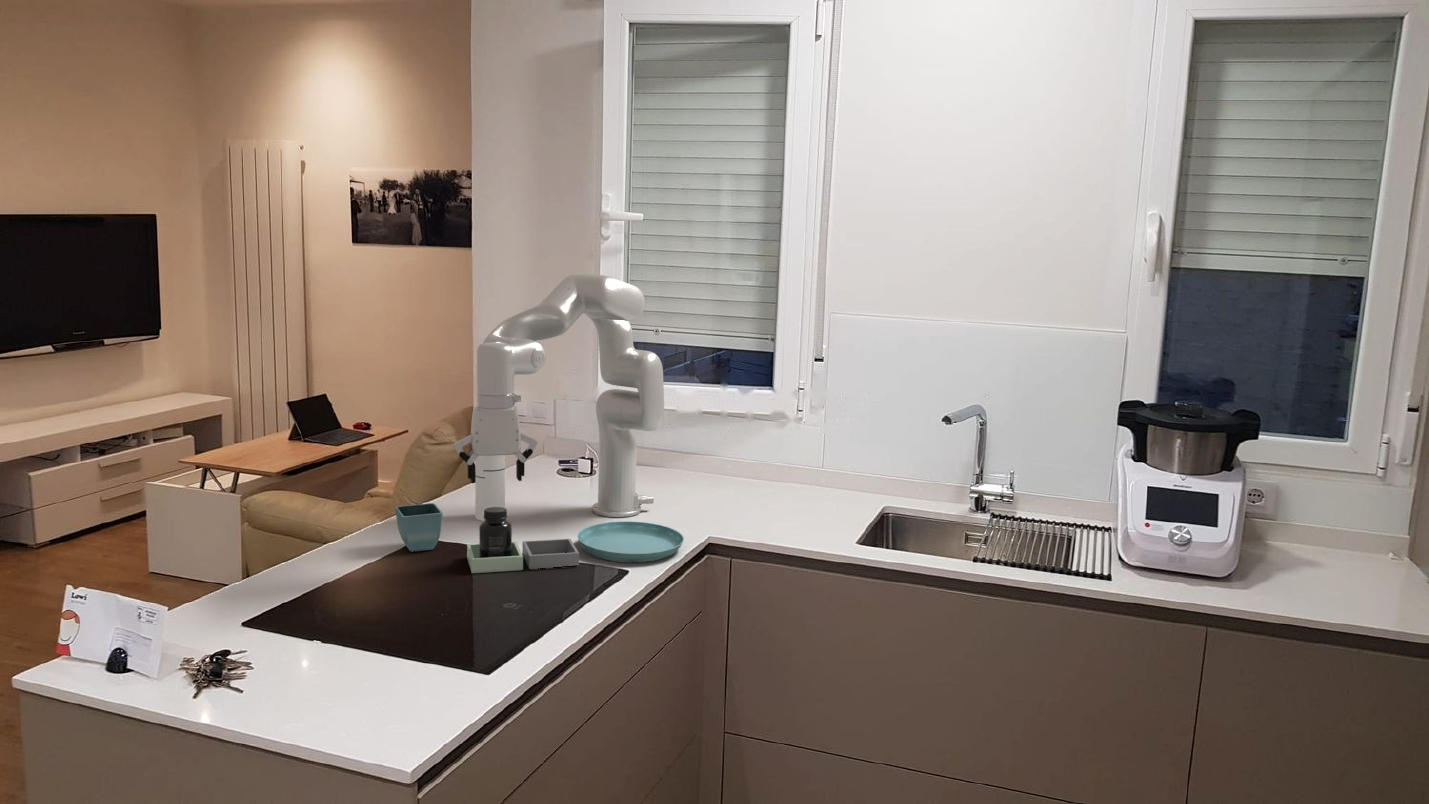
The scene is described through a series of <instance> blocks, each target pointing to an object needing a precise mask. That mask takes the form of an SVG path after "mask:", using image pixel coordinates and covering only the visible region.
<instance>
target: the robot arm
mask: <svg viewBox="0 0 1429 804" xmlns="http://www.w3.org/2000/svg"><path fill="white" fill-rule="evenodd" d="M645 306H646V301H645V295H644V294H643V292H642V290H641V289H640V288H639V287H637V286H636V285H633V284H631V283H628V282H625V281H623V280H620V279H618V278H615V277H612V276H610V275H609V276H608V275H602V274H589V273H587V274H586V273H572V274H569V275H568V276H566V277H564V278H563V280H561V281H560V283H558V285H557V286H555V288H554V289H553V290H552V291H551V292H550V293H549V294H548V295H547V296H546V297H545V298H544V299H543V300H542V301H541V302H540V303H539V304H538V305H535V306H533V307H531V308H528V309H526V310H523V311H522V312H520V313H517V314H514V315H512V316H510V317H508V318H506V319H505V320H502V322H500V323H499V324H497V326H496V327H495V328H494V329H493V330H492V331H491V332H489V334H488V335H487V336H486V338H484V339H483V342H482V343H480V344H479V345H478V346H477V349H476V385H477V387H476V388H477V393H476V395H477V396H476V398H477V399H476V401H477V402H476V403H477V404H476V405H477V406H474V407H473V409H472V415H471V424H470V425H471V427H470V434H469V435H468V436H465V437H463V438H461V439H459V440H458V441H455V442H454V443H453V446H454V447H453V448H454V449H455V451H456V452H457V455H458V456H459V457H460V459H461V460H463V461H464V462H465V463H466V464H467V479H470V482H471V484H475V483H476V473H475V460H476V459H477V458H478V457H479V456H493V455H505V456H509V455H510V456H511V455H514V456H515V457H516V458H517V460H516V463H515V464H516V465H515V466H516V467H515V468H516V479H517V481H519V482H522V479H523V478H522V477H524V476H525V463H526V462H527V459H529V458H530V457H531V456H532V455H533V453H534V451H535V449H536V447H537V445H538V441H537V439H535V438H533V437H530V436H528V435H526V434H524V433H522V432H521V425H520V423H521V422H520V418H519V410H518V407H517V406H516V405H515V404H516V403H521V402H522V396H521V395H520V394H519V395H518V394H515V382H514V379H515V378H514V376H515V375H517V376H518V375H533V374H536V373H537V372H539V371H540V370H541V369H542V368H543V367H544V365H545V364H546V363H545V362H546V360H547V359H546V357H547V356H546V355H547V354H546V351H545V348H544V346H543V345H542V344H541V343H540V342H537V341H544V340H548V339H552V338H556V337H559V336H561V335H564V334H565V333H566V332H567V331H568V330H569V329H570V328H571V327H572V326H573V325H574V323H576V321H578V319H579V318H580V317H581V316H583V314H584V315H585V316H587V317H588V319H590V320H591V322H592V323H593V324H594V326H595V329H596V331H597V336H598V351H599V370H600V375H601V379H602V381H603V382H604V383H605V384H608V385H611V386H616V387H617V386H618V387H625V388H632V389H636V390H637V391H634V390H627V389H621V388H617V389H616V388H612V389H607V390H605V391H603V392H601V394H600V395H599V396H598V397H597V401H596V404H595V405H596V406H595V412H596V413H595V414H596V419H597V425H598V437H599V440H598V443H599V445H598V450H599V451H598V488H597V489H598V492H597V493H598V494H597V497H598V498H597V502H595V503H593V504H592V505H591V511H592V513H594V514H595V515H598V516H603V517H609V518H627V517H633V516H636V515H638V514H640V513H641V511H642V505H644V504H646V505H651V504H652V505H653V504H654V496H652V495H651V496H650V495H648V496H647V495H646V494H644V495H643V494H641V495H638V493H636V485H637V484H636V481H637V454H638V453H637V449H638V448H637V447H638V446H637V441H636V437H635V435H634V432H633V431H632V430H634V431H635V430H637V431H642V432H643V431H644V432H653V431H656V430H657V429H659V428H660V427H661V425H662V424H663V421H664V417H665V391H664V390H665V389H664V388H665V387H664V368H663V363H662V360H661V359H660V357H659V356H658V355H657V354H656V353H655V352H652V351H649V350H644V349H643V350H642V349H636V348H635V346H634V340H633V339H634V338H633V337H634V336H633V329H632V326H631V325H632V324H631V322H635V321H636V320H639V318H640V317H641V316H642V315H643V313H644V310H645V308H646V307H645ZM521 441H522V442H524V443H527V444H528V446H527V448H526V449H525V450H524V451H523V452H521V448H522V442H521ZM468 444H470V449H471V451H470V453H469V454H468V453H466V452H465V451H464V449H463V447H465V446H467V445H468Z"/></svg>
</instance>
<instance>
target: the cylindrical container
mask: <svg viewBox="0 0 1429 804" xmlns="http://www.w3.org/2000/svg"><path fill="white" fill-rule="evenodd" d="M474 463H475V473H476V483H474V484H475V489H474V490H475V492H474V493H475V500H474V501H475V502H474V503H475V505H474V506H475V513H474V514H475V515H474V516H475V517H474V518H475V519H476V520H478V521H482V522H483V521H485V519H484V510H485V509H486V508H490V507H503V508H505V509H506V455H493V456H479V457H478V458H477V459H476V460H475V461H474Z"/></svg>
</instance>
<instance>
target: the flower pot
mask: <svg viewBox="0 0 1429 804" xmlns="http://www.w3.org/2000/svg"><path fill="white" fill-rule="evenodd" d="M394 509H395V515H396V516H395V517H396V523H397V529H398V532H399V535H400V538H401V540H402V541H403V543H404V545H405V547H406V548H407V550H408V551H409V552H410V551H411V553H413V552H414V551H415V552H423V551H430V550H434V549H435V547H436V545H437V544H438V542H439V540H440V536H441V533H442V525H443V524H442V523H443V515H444V512H443V511H442V510H441V509H440V508H439V507H438V506H437V505H436V503H434V502H431V503H430V502H429V503H418V504H411V505H409V504H407V505H398V506H395V508H394Z"/></svg>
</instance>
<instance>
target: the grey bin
mask: <svg viewBox="0 0 1429 804" xmlns="http://www.w3.org/2000/svg"><path fill="white" fill-rule="evenodd" d="M565 552H567V553H565ZM522 555H523V560H525V563H526V565H527V567H528V569H531V570H541V569H540V568H546V569H554V568H553V567H562V566H573V565H579V566H580V552H579V550H578V549H577V548H576V546H575V544H574V543H573V541H572V539H571V538H558V539H557V538H556V539H555V538H553V539H539V540H523V541H522ZM538 568H539V569H538ZM562 568H563V567H562Z"/></svg>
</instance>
